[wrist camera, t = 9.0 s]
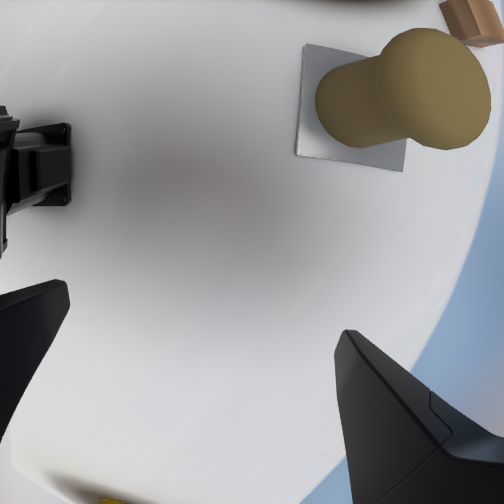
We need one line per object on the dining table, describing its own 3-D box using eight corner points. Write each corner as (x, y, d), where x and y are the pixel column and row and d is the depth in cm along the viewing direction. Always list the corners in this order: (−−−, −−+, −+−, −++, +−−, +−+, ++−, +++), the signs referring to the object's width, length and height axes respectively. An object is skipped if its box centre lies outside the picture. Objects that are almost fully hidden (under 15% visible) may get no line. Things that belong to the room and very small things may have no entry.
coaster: (294, 154, 19) (296, 155, 18) (303, 46, 16) (306, 43, 16) (397, 171, 20) (402, 172, 19) (405, 72, 17) (410, 70, 16)
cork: (374, 56, 16) (473, 7, 5) (406, 132, 18) (522, 142, 7) (299, 79, 17) (360, 17, 6) (337, 161, 19) (431, 188, 8)
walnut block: (453, 43, 15) (481, 34, 12) (438, 4, 14) (463, -8, 10) (480, 47, 15) (507, 41, 11) (467, 11, 14) (492, 1, 10)
